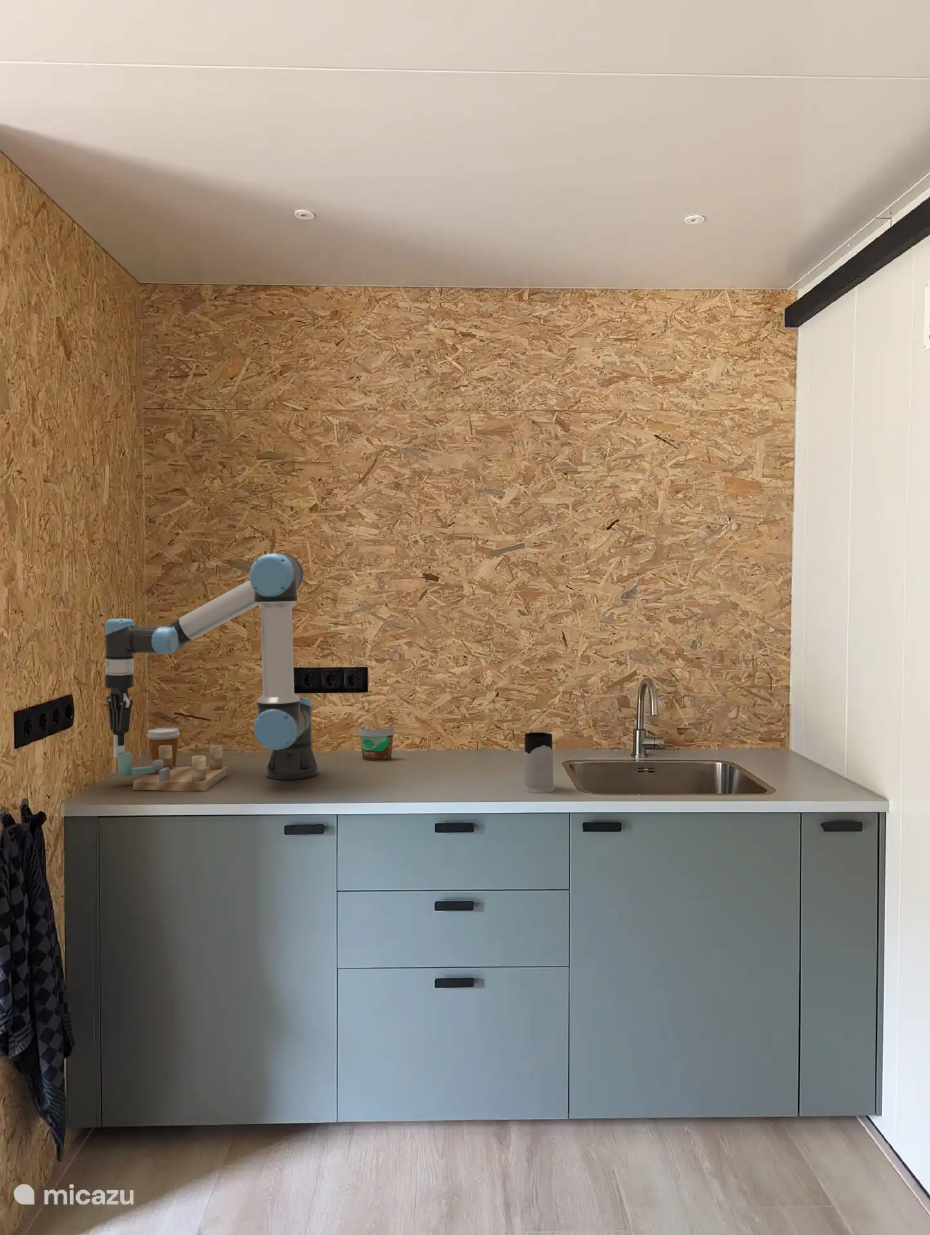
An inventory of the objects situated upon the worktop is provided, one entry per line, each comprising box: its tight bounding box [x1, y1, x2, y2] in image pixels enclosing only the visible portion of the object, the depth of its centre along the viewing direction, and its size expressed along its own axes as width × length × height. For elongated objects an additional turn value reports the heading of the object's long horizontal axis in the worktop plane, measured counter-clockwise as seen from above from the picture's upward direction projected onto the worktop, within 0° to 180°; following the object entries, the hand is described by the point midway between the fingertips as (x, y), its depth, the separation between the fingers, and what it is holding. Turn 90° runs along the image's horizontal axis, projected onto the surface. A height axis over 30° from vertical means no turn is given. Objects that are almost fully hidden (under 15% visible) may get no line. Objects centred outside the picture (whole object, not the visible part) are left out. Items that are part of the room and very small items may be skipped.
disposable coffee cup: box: [147, 727, 181, 767], centre depth 277 cm, size 10×10×12 cm
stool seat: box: [132, 744, 229, 792], centre depth 259 cm, size 20×20×9 cm
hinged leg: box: [117, 751, 163, 777], centre depth 258 cm, size 12×4×6 cm, turn 120°
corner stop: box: [159, 768, 170, 782], centre depth 251 cm, size 2×4×3 cm, turn 177°
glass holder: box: [522, 731, 556, 794], centre depth 250 cm, size 9×14×15 cm, turn 16°
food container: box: [357, 725, 396, 762], centre depth 290 cm, size 12×6×10 cm, turn 73°
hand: (119, 756), depth 257 cm, fingers closed
